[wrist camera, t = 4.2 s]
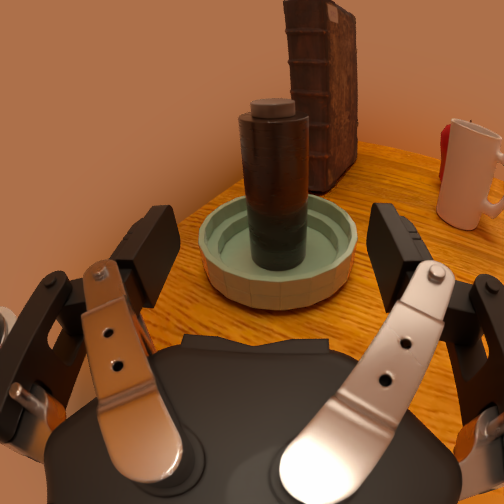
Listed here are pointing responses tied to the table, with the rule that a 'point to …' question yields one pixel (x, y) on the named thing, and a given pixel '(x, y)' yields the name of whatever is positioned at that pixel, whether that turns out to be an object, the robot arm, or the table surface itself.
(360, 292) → the table surface
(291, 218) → the thermos flask
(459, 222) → the mug
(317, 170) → the book
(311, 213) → the celadon bowl
